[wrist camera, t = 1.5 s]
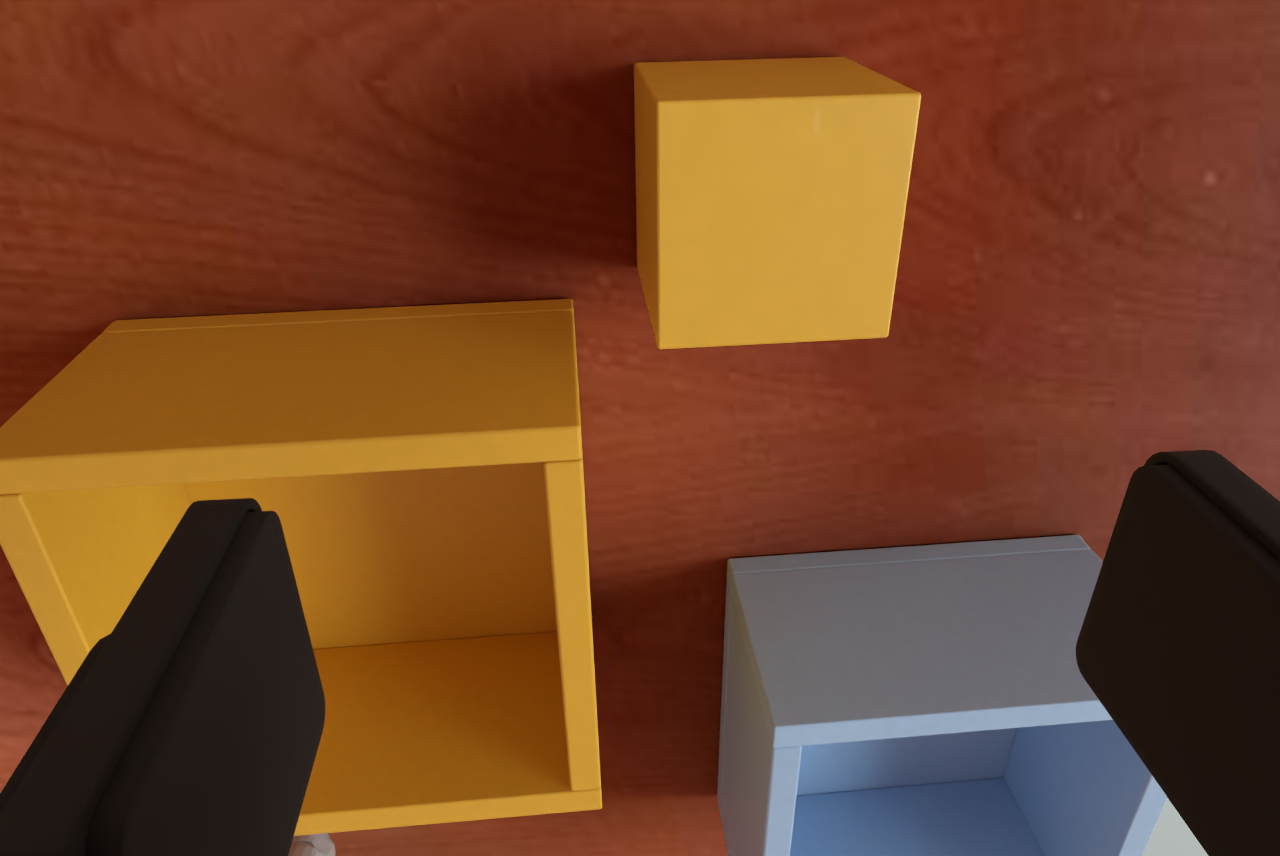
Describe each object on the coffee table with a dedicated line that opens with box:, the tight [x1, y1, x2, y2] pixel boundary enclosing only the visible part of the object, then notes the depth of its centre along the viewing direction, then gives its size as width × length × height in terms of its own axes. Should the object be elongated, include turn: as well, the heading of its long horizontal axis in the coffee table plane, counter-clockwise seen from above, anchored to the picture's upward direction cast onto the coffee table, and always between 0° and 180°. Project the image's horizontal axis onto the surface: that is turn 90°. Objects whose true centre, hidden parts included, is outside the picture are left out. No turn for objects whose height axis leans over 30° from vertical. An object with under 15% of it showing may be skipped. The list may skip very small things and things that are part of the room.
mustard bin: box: [0, 299, 602, 836], centre depth 23 cm, size 12×12×7 cm
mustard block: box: [634, 57, 921, 349], centre depth 20 cm, size 5×5×5 cm
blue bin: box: [717, 535, 1167, 856], centre depth 28 cm, size 12×12×7 cm
